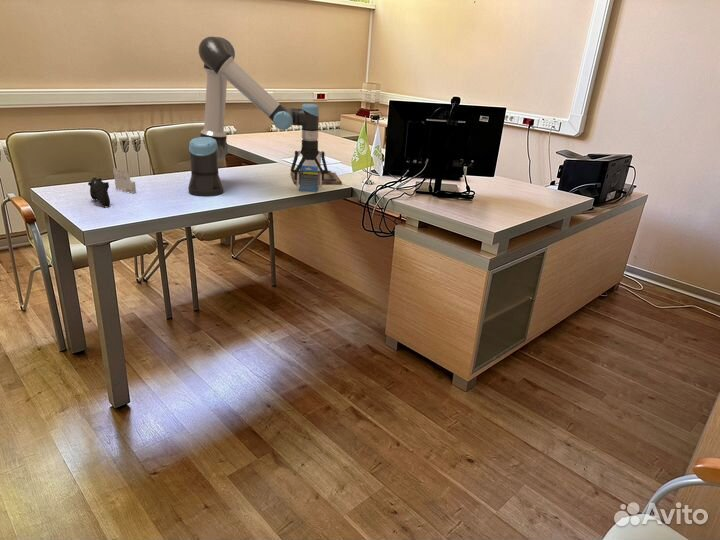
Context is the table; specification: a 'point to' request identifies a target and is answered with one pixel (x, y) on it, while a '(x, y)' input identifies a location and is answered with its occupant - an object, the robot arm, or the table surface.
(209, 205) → the table surface
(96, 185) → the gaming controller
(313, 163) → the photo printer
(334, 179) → the stand
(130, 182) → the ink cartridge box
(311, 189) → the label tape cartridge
